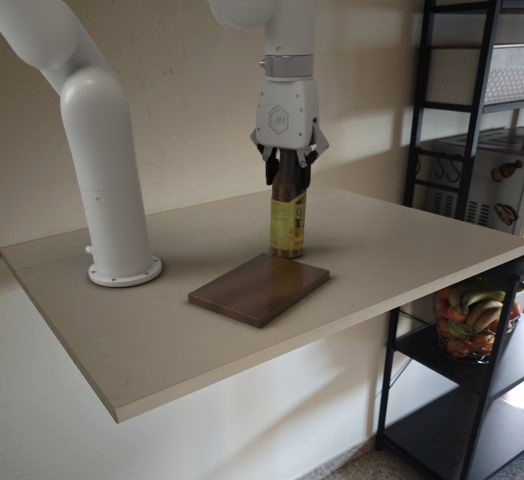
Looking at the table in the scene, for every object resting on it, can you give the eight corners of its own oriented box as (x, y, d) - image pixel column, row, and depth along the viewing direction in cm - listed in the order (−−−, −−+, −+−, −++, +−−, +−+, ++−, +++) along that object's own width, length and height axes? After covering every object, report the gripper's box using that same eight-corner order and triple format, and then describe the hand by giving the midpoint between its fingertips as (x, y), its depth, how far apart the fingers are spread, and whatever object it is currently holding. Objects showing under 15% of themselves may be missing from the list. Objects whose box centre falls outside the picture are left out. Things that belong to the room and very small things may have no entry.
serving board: (188, 302, 79) (187, 293, 78) (263, 260, 92) (263, 252, 91) (259, 328, 72) (259, 319, 71) (329, 278, 85) (329, 270, 84)
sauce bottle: (300, 261, 91) (306, 147, 80) (266, 258, 92) (268, 145, 81) (305, 248, 96) (312, 138, 85) (273, 245, 97) (276, 136, 86)
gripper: (231, 68, 79) (235, 184, 89) (324, 72, 70) (318, 200, 81) (259, 64, 84) (260, 174, 94) (350, 68, 75) (341, 189, 86)
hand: (287, 185), depth 87 cm, fingers closed on sauce bottle, 5 cm apart
